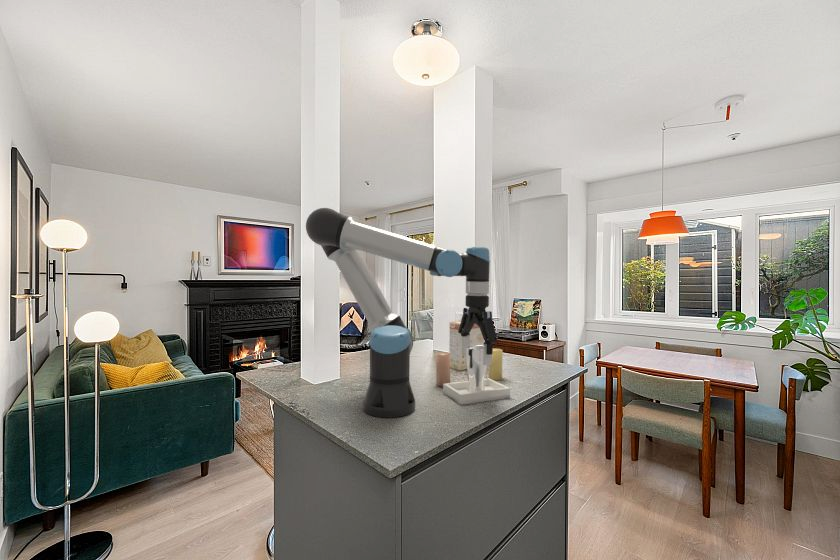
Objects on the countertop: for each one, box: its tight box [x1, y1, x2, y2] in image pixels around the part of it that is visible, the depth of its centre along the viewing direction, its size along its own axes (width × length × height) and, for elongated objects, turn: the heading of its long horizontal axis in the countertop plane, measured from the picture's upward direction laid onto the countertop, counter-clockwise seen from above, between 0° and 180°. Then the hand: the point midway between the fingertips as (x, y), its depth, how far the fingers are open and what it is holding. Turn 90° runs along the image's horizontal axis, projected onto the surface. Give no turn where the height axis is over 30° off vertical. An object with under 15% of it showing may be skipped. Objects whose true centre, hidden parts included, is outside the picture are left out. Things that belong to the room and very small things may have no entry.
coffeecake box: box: [448, 320, 485, 371], centre depth 159 cm, size 15×7×20 cm, turn 130°
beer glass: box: [466, 345, 488, 393], centre depth 121 cm, size 7×7×15 cm
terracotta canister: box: [435, 351, 451, 388], centre depth 132 cm, size 5×5×11 cm
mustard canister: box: [488, 347, 504, 381], centre depth 141 cm, size 5×5×11 cm
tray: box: [442, 377, 511, 405], centre depth 122 cm, size 18×12×3 cm, turn 113°
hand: (475, 359), depth 121 cm, fingers open, 13 cm apart
